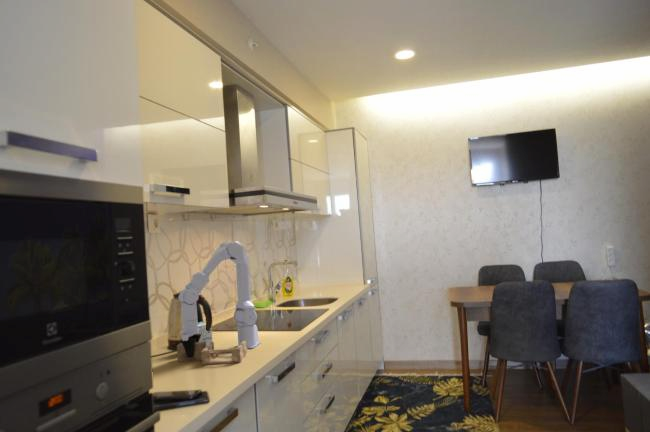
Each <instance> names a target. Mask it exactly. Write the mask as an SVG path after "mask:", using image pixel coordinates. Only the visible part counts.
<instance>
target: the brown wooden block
mask: <svg viewBox="0 0 650 432" xmlns="http://www.w3.org/2000/svg"><path fill="white" fill-rule="evenodd" d="M205 347H206V341H204V342H195V346H194V356H193V357H187V354H186V351H185V348H184V346H183V344H182V343H181V342H179V343H178V344H177V345H176V354H177V362H191V361H202V358H201V351H202V350H203V349H204V348H205Z"/></svg>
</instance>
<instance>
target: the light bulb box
mask: <svg viewBox="0 0 650 432" xmlns="http://www.w3.org/2000/svg"><path fill="white" fill-rule="evenodd" d="M206 322H207V321H200V322H198V327H199V333H197V334H201V337H200V339H199V342H204V341H206V347H207V346H208V345H209V344H210V343H211V342H214V341H213V329H212V328H213V327H212V326H211V328H210V331H207V330H206ZM180 328H181V332H182V331H183V326H181V327H180ZM208 332H209V333H208ZM182 335H183V334H181V336H182Z"/></svg>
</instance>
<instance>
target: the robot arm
mask: <svg viewBox="0 0 650 432" xmlns="http://www.w3.org/2000/svg"><path fill="white" fill-rule="evenodd" d="M226 260H231V261H232V262H233V263H234V264H235V266H236V268H235V269H236V286H237V287H236V288H237V289H236V292H237V302H236V304H235V308H234V309H235V310H234V313H233V320H234V321H235V322H236V329H237V342H238V344H237V346H235V347H234V348H238V347H239V345H240V344H241V343H242V342H243V341H244V340H247V349H254V348H256V347H257V346H258V345H260V344H261V341H259V330H258V326H257V325H256V324H255V323H256V322H257V319H258V313H257V312H256V309H255V308H256V307H255V305H254V303H253V302H252V295H251V294H252V293H251V274H250V273H251V272H250V269H251V268H250V258H249V256H248V254H247V252H246V250H245V246H244V245H243V244H242V243H240V242H239V241H237V240H235V241H224V242H222V243H220V245H219V247H217V248H216V250H215V251H214V253H213V255H212V256H211V258H210V259H209V260H208V262H207V263H206V265H204V268H203V269H202V271H198V272H196V273H193V275H192V279H191V280H190V281H189V283H188V284H186V285H185V286H184V287H185V288H183V289H181V290H180V291H179V294H178V296H177V298H178V299H177V300H178V301H179V303H180V309H181V322H182V326H181V327H183V331H182V330H181V331H180V332H179V335H181V339H180V343H182V344H183V346H184V348H185V351H186V354H187V357H193V356H194V346H195V342H199V339H200V337H201V334H197V333H199V327H198V323H199V321H198V306H197V301H199V297H200V294H201V292H202V291H203V290H204V288H206V286H207V284H208V283H209V282H210V276H211V274H212V273H213V272H214V271H215V269H216V268H217V267H218V266H219V265H220V264H221V262H223V261H226ZM182 334H183V335H182Z"/></svg>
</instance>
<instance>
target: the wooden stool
mask: <svg viewBox="0 0 650 432" xmlns="http://www.w3.org/2000/svg"><path fill="white" fill-rule="evenodd" d="M247 354H248V348H247V340H244V341H243V342H242V343H241V344H240V345H239V347H238V348H235V347H233V348H222V349H215V345H214V341H213V342H211V343H210V344H209V345H208V346H207V347H205V348H204V349H203V350H202V351H201V358H202V360H201V365H202V366H212V365H213V366H214V365H225V364H226V365H227V364H238V363H241V362H242V361H243V360H244V359H245V357H246V356H247Z"/></svg>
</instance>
